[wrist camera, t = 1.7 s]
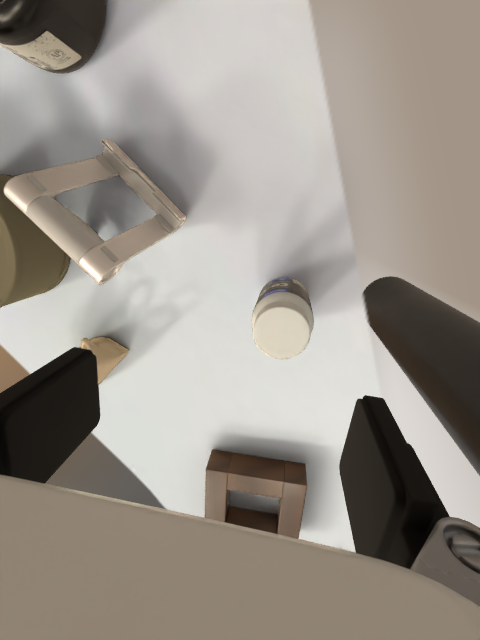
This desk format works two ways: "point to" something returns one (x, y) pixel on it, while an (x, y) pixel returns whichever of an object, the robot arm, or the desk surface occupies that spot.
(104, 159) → the tablet stand
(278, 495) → the holder
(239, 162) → the desk surface
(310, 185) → the desk surface
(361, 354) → the desk surface
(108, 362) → the decorative ornament
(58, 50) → the ink bottle
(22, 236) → the can
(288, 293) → the pill bottle
